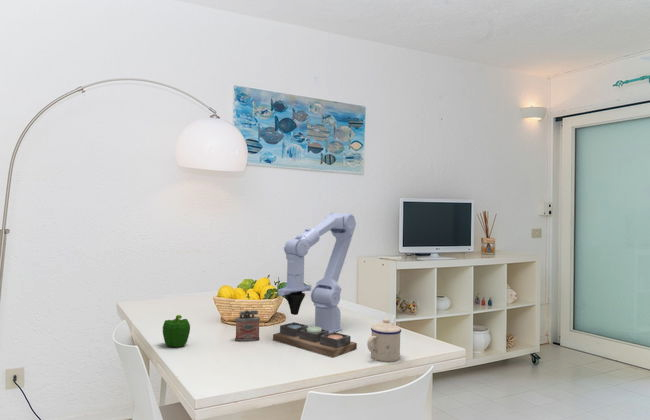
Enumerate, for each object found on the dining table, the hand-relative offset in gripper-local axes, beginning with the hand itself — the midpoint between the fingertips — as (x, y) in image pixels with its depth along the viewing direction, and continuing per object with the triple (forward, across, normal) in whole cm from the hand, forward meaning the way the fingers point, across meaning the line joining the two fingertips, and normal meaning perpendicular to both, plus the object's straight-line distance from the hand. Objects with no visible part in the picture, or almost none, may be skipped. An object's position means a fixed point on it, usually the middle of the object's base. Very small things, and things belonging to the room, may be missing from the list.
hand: (294, 314), depth 162 cm
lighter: (+9, +12, -10) cm, 18 cm away
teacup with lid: (+9, -4, +33) cm, 34 cm away
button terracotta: (+6, 0, +18) cm, 19 cm away
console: (+8, 0, +9) cm, 12 cm away
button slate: (+6, 0, 0) cm, 6 cm away
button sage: (+5, 0, +9) cm, 10 cm away
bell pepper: (+9, +32, -21) cm, 39 cm away
